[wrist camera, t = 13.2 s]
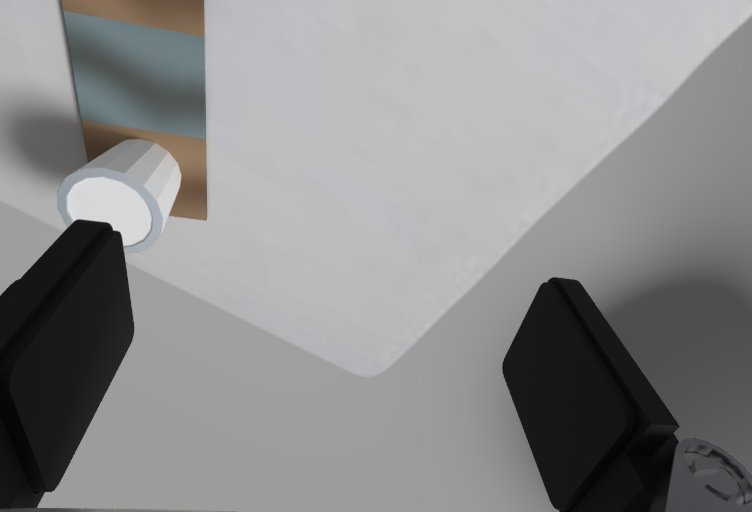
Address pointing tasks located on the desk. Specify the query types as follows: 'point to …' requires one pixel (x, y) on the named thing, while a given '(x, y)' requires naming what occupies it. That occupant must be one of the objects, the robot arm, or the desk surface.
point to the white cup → (124, 192)
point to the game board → (144, 82)
